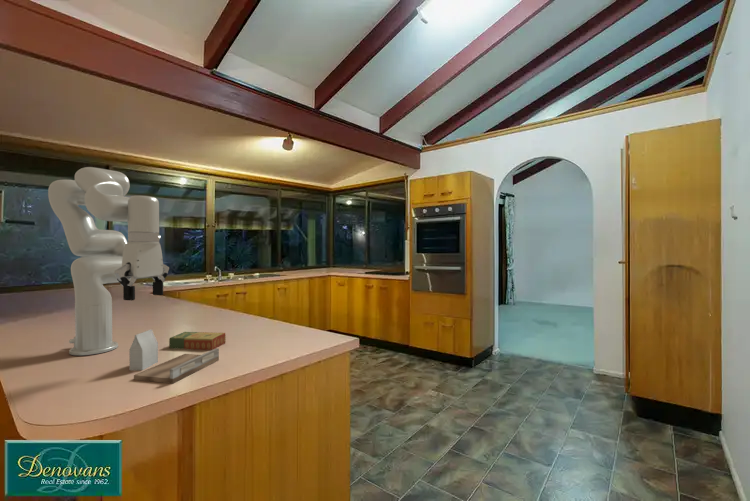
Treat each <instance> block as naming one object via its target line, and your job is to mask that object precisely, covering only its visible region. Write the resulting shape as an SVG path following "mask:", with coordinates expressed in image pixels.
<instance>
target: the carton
mask: <svg viewBox="0 0 750 501" xmlns="http://www.w3.org/2000/svg"><path fill="white" fill-rule="evenodd" d="M226 335H227V334H226V332H206V331H205V332H203V331H201V332H200V331H182V332H181V333H179V334H176V335H173V336H171V337H169V341H168V344H169V345H168V346H169V349H176V350H177V349H180V350H181V349H182V350H184V349H185V350H187V349H188V350H202V351H204V350H205V351H211V350H213V349H216V348H217V349H218V348H219V347H221V346H223V345H226V343H227V341H226V340H227V339H226V338H227V336H226Z"/></svg>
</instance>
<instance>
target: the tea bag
mask: <svg viewBox="0 0 750 501" xmlns="http://www.w3.org/2000/svg"><path fill="white" fill-rule="evenodd" d="M128 352H129V354H128V355H129V371H145V370H147V369H149V368H151V367H152V366H154V365H156V364H157V363H158V362H159V343H158V341H157V338H156V336H155V334H154V331H153V329H148V330H145V331H143V332H140V333H137V334H135V335H134V338H133V340H132V342H131V345H130V348H129V350H128ZM155 363H156V364H155ZM153 364H154V365H153Z"/></svg>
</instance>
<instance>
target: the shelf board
mask: <svg viewBox="0 0 750 501" xmlns="http://www.w3.org/2000/svg"><path fill="white" fill-rule="evenodd" d="M219 355H220V349H219V348H218V347H217V348H215V349H213V350H208V351H207V352H205V353H203V354H195V353H194V354H193V353H183V354H181V355H178V356H176V357H173V358H172V359H169V360H167V361H164V362H162V363H159V364H157V365H155V366H154V365H153V367H152V366H151V367H149V368H146V369H144V370H141V371H139V372H138V373H136V374H133V380H135V381H143V382H155V383H162V382H163V384H175V383H177V382H180V380H183V379H184V378H186V377H188V376H191V375H193V374H196V373H197V372H199V371H200V370H203V369H204V368H206V367H208V366H210V365H213V364H214V363H216V362H218V361H219V360H220V359H219V358H220V356H219Z"/></svg>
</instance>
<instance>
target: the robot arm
mask: <svg viewBox="0 0 750 501" xmlns="http://www.w3.org/2000/svg"><path fill="white" fill-rule="evenodd" d="M130 188H131V186H130V180H129V178H128V177H127V175H126V174H125V173H123V172H122V171H121V172H120V171H117V170H111V169H106V168H100V167H95V166H94V167H93V166H86V167H82V168H80V169H78V170H77V171H76V172H75V174H74V179H57V180H54V181H52V182H51V183H50V184H49V186H48V191H47V193H48V194H47V196H48V201H49V204H50V207H51V210H52V211H53V213H54V215H55V216H56V217H57V218H58V219H59V221H60V223H61V225H62V228H63V232H64V234H65V238H66V242H67V244H68V247H69V249H70V251H71V253H72V254H73V255H74V256H77V257H78V258H77V259H75V260H73V261H72V263H71V266H70V274H71V279H72V283H73V289H74V312H75V313H74V315H75V316H74V317H75V320H74V321H75V324H74V326H75V327H74V328H75V329H74V330H75V332H74V333H75V336H74V337H73V338H71V339H69V340H68V343H69V344H73V347H72V348H70V349H69V350H68V351H69V352H68V354H69V355H71V356H90V355H91V356H92V355H97V354H103V353H107V352H110V351H112V350H115V349H117V348H118V347H119V343H118V342H117V341H113V298H112V294H111V292H110V291H109V290H108V289H107V288H106V287H105V286H104V285H105V284H114V283H119V284H120V286H122V288H123V289H122V291H123V292H122V293H123V301H135V300H136V286H135V282H136V281H137V279H146V278H148V279H149V278H152V280H153V281H152V295H153V296H163V295H164V282H165V281H166V278H167V276H168V273H169V270H170V266H167V264H164V261H163V259H164V258H163V253H162V252H163V251H162V246H161V243H160V239H161V235H160V201H159V199H158V198H156V197H155V196H150V195H131V196H126V195H127V194H128V192H130V191H129V190H130ZM80 206H85V207H86V210H87V211H88V212H89V213H88V212H87V211H86V210H84V209H83V208H82V207H80ZM91 215H93V216H94V217H95V218H96V219H98V220H101V221H105V222H122V223H124V222H125V223H127V238H126V236H125V235H124V234H123V233H122V232H120V231H118V230H113V229H101V228H100V229H99V228H98V227H97V226H96V223H95V221H94V218H93V217H92V216H91Z"/></svg>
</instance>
